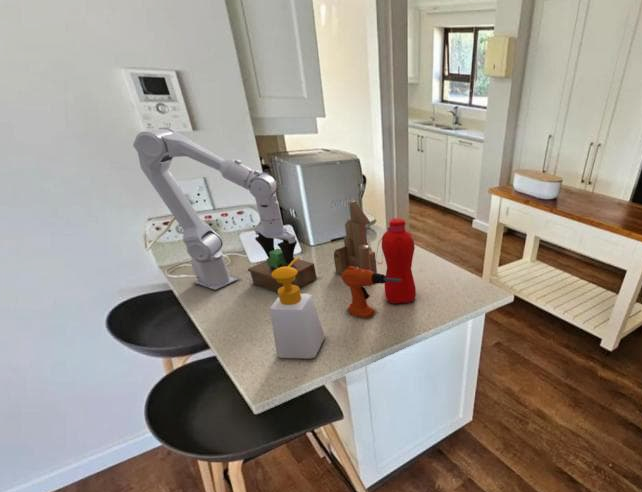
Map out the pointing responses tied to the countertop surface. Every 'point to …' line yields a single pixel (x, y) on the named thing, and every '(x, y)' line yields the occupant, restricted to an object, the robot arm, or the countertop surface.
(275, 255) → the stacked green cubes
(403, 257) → the water bottle
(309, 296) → the soap bottle
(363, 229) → the wooden toy
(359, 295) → the toy drill
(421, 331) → the countertop surface
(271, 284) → the wooden box
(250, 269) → the lid
